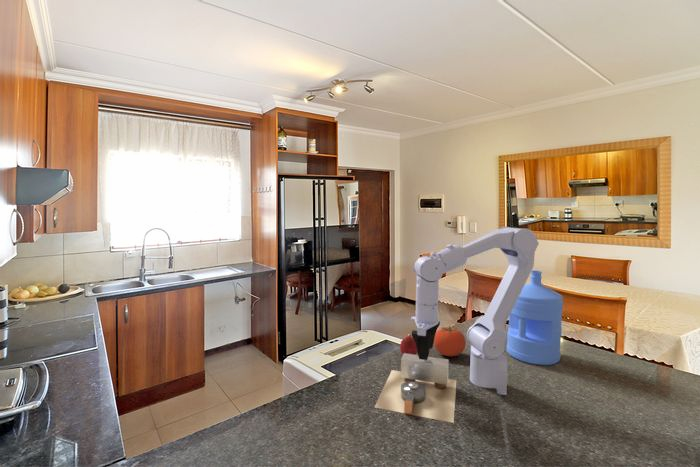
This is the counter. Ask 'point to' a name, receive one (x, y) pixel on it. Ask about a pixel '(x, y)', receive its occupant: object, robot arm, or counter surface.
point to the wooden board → (433, 407)
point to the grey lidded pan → (412, 395)
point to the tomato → (449, 341)
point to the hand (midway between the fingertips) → (425, 353)
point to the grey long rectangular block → (424, 369)
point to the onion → (408, 345)
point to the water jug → (536, 324)
